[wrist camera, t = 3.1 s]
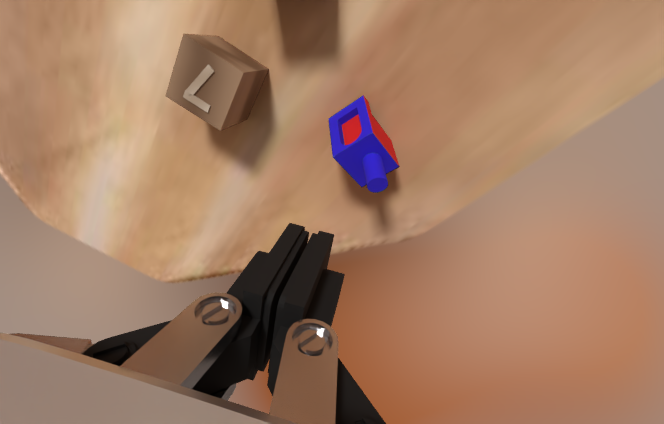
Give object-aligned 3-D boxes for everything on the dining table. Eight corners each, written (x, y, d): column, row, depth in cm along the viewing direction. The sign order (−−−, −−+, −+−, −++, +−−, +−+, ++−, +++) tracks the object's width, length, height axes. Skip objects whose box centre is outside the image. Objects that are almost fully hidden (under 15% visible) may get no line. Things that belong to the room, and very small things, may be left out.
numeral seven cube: (269, 68, 29) (242, 72, 24) (247, 119, 31) (219, 131, 27) (218, 36, 28) (182, 33, 24) (200, 89, 31) (164, 96, 26)
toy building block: (354, 149, 32) (366, 212, 26) (328, 118, 29) (335, 182, 24) (387, 128, 30) (407, 191, 25) (362, 94, 28) (379, 156, 22)
